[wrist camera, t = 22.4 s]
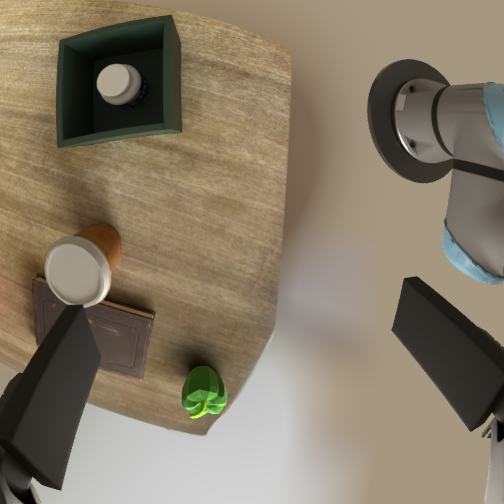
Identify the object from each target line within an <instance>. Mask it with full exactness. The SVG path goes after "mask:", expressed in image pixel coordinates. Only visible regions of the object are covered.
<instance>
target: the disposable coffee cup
mask: <svg viewBox="0 0 504 504" xmlns="http://www.w3.org/2000/svg"><path fill="white" fill-rule="evenodd" d="M120 252H121V239H120V236H119V235H118V233H117V232H116V230H115V229H113V228H112V227H111V226H109V225H106V224H97V225H94V226H92V227H90V228H88V229H86V230H84V231H82V232H80V233H77V234H75V235H73V236H67V237H63V238H60V239H59V240H57V241H56V242H55V243H54V244H53V245H52V246H51V248H50V249H49V251H48V254H47V258H46V262H45V276H46V279H47V283H48V284H49V286H50V288H51V290H52V291H53V293H54V294H55V295H56V296H57V297H58V298H59V299H60V300H62V301H63V302H64V303H66V304H68V305H79V304H83V306H84V308H86V307H89V306H92V305H95V304H97V303H99V302H100V301H102V300H103V299H104V298H105V297H106V295H107V293H108V291H109V289H110V285H111V275H112V272H113V270H114V267H115V264H116V262H117V259H118V256H119V254H120Z"/></svg>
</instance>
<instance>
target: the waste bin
mask: <svg viewBox="0 0 504 504" xmlns="http://www.w3.org/2000/svg"><path fill="white" fill-rule="evenodd" d="M112 64H121V65H122V64H126V65H130V66H133V67H134V68H135V69H137V70H138V71H139V72H140V73H141V74H142V75H143V76H144V77H145V78H146V79H147V80H148V82H149V85H150V92H149V96H148V98H147V99H146V101H145V102H144V103H143V104H142V105H141V106H139V107H137V108H134V109H124V108H121V107H118V106H115V105H112V104H110V103H108V102H106V101H105V100H104V99H103V97H102V96H101V93H100V92H99V90H98V88H97V79H98V76H99V74H100V73H101V71H102V70H103V69H105V68H106V67H107V66H109V65H112ZM56 124H57V145H58V148H65V147H73V146H83V145H93V144H98V143H104V142H109V141H115V140H122V139H128V138H135V137H143V136H151V135H159V134H169V133H179V132H182V119H181V43H180V39H179V36H178V33H177V30H176V27H175V24H174V21H173V18H172V15H166V16H159V17H152V18H146V19H140V20H135V21H129V22H124V23H120V24H115V25H111V26H107V27H103V28H99V29H95V30H91V31H88V32H84V33H81V34H78V35H75V36H71V37H68V38H66V39H62V40H60V42H59V52H58V65H57V85H56Z"/></svg>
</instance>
